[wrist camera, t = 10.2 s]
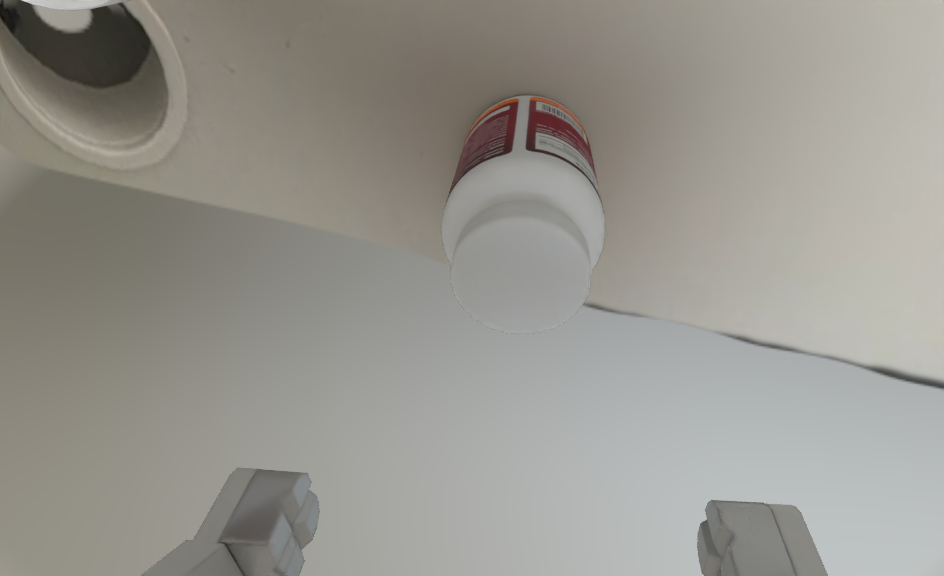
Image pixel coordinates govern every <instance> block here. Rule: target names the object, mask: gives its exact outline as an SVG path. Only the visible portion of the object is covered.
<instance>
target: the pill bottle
mask: <svg viewBox="0 0 944 576" xmlns="http://www.w3.org/2000/svg"><path fill="white" fill-rule="evenodd" d="M441 233H442V242H443V247H444V250H445V253H446V256H447V258H448V260H449V262H450V264H451V267H450V279H451V285H452V289H453V291H454V294H455V296H456V298H457V300H458V302H459V303H460V305H461V306H462V307H463V308H464V310H465V311H466V312H467V313H468V314H469V315H471V317H473V318H474V319H475V320H477V321H478V322H480V323H481V324H483V325H485V326H487V327H490V328H492V329H495V330H498V331H502V332H506V333H512V334H532V333H539V332H542V331H546V330H549V329H552V328H555V327H557V326H559V325H560V324H562V323H564V322H565V321H567V320H568V319H570V318H571V317H572V316H573V315H574V314H575V313H576V312H577V311H578V310H579V309H580V308H581V306H582V305H583V303H584V302H585V300H586V298H587V295H588V293H589V290H590V285H591V271H592V270H593V268H594V267H595V265H596V263H597V262H598V259H599V257H600V255H601V252H602V249H603V245H604V240H605V218H604V211H603V206H602V202H601V197H600V193H599V188H598V182H597V178H596V173H595V169H594V164H593V159H592V154H591V149H590V144H589V141H588V138H587V135H586V133H585V131H584V129H583V127H582V125H581V123H580V122H579V121H578V119H577V118H576V117H575V116H574V114H573V113H572V112H570V111H569V110H568V109H567V108H566V107H564V106H563V105H561V104H559V103H558V102H555V101H553V100H551V99H548V98H545V97H540V96H532V95H526V96H516V97H512V98H508V99H505V100H503V101H501V102H499V103H497V104H495V105H493V106H492V107H490V108H489V109H487V110H486V111H485V112H484V113H483V114H482V115H481V116H480V117H479V118H478V119H477V120H476V122H475V123H474V124H473V126H472V128H471V129H470V131H469V133H468V136H467V138H466V140H465V143H464V147H463V150H462V154H461V156H460V160H459V163H458V167H457V170H456V173H455V177H454V180H453V183H452V186H451V189H450V192H449V196H448V199H447V202H446V205H445V209H444V213H443V217H442V227H441Z"/></svg>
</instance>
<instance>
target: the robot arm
mask: <svg viewBox="0 0 944 576" xmlns="http://www.w3.org/2000/svg"><path fill="white" fill-rule="evenodd" d="M310 485H311V480H310V478H309V476H308V473H300V472H287V471H274V470H262V469H250V468H237V469H236V470H235V471H234V472H232V474H231V475H230V476H229V477H228V479H227V481H226V483H225V485H224V486H223V488H222V490H221V492H220V493H219V495H218V497H217V499H216V500H215V502H214V504H213V506H212V507H211V509H210V511H209V513H208V515H207V516H206V518H205V520H204V521H203V523H202V525H201V527H200V529H199V530H198V532H197V534H196V536H195V537H194V540H186V541H185V542H183V543H182V544H180V545H179V546H178V547H177V548H176V549H174V550H173V551H171V552H170V553H169V554H167V555H166V556H165V557H164V558H162V559H161V560H160V561H158V562H157V563H156V564H155V565H153V566H152V567H151V568H149V569H148V570H147V571H146V572H144V573H143V574H142V575H140V576H299V574H300V572H301V569H302V566H303V564H304V557H303V553H302V549H303V548H304V547H305V546H306V545H307V544H308V543H310V542H311V541H312V540H313V537H314V534H315V531H316V528H317V525H318V518H319V512H320V511H319V501H318V499H317V496H316V495H315V494H314V493H313V492H312V491H310V490H309V488H310ZM705 512H706V516H707V520H706V521H704V522H702V523H701V524H700V527H699V531H698V542H697V545H698V546H697V548H698V556H699V562H700V566H701V571H702V574H703V575H704V576H828V574H827V572H826V570H825V568H824V565H823V563H822V560H821V558H820V556H819V553H818V551H817V549H816V547H815V544H814V542H813V540H812V537H811V535H810V532H809V530H808V528H807V525H806V523H805V521H804V519H803V516H802V514H801V512H800V511H799V510H798V509H797V508H796V507H795V506H792V505H781V504H764V503H757V502H737V501H717V500H711V501H710V502H708V504H707V506H706V509H705Z"/></svg>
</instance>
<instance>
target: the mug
mask: <svg viewBox="0 0 944 576" xmlns="http://www.w3.org/2000/svg"><path fill="white" fill-rule="evenodd" d="M22 1H25V2H28V3H30V4H33V5H37V6H42V7H46V8H51V9H58V10H71V11H74V10H86V9H93V8H97V7H102V6H107V5H111V4H116V3H121V2H125V1H130V0H22Z"/></svg>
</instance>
